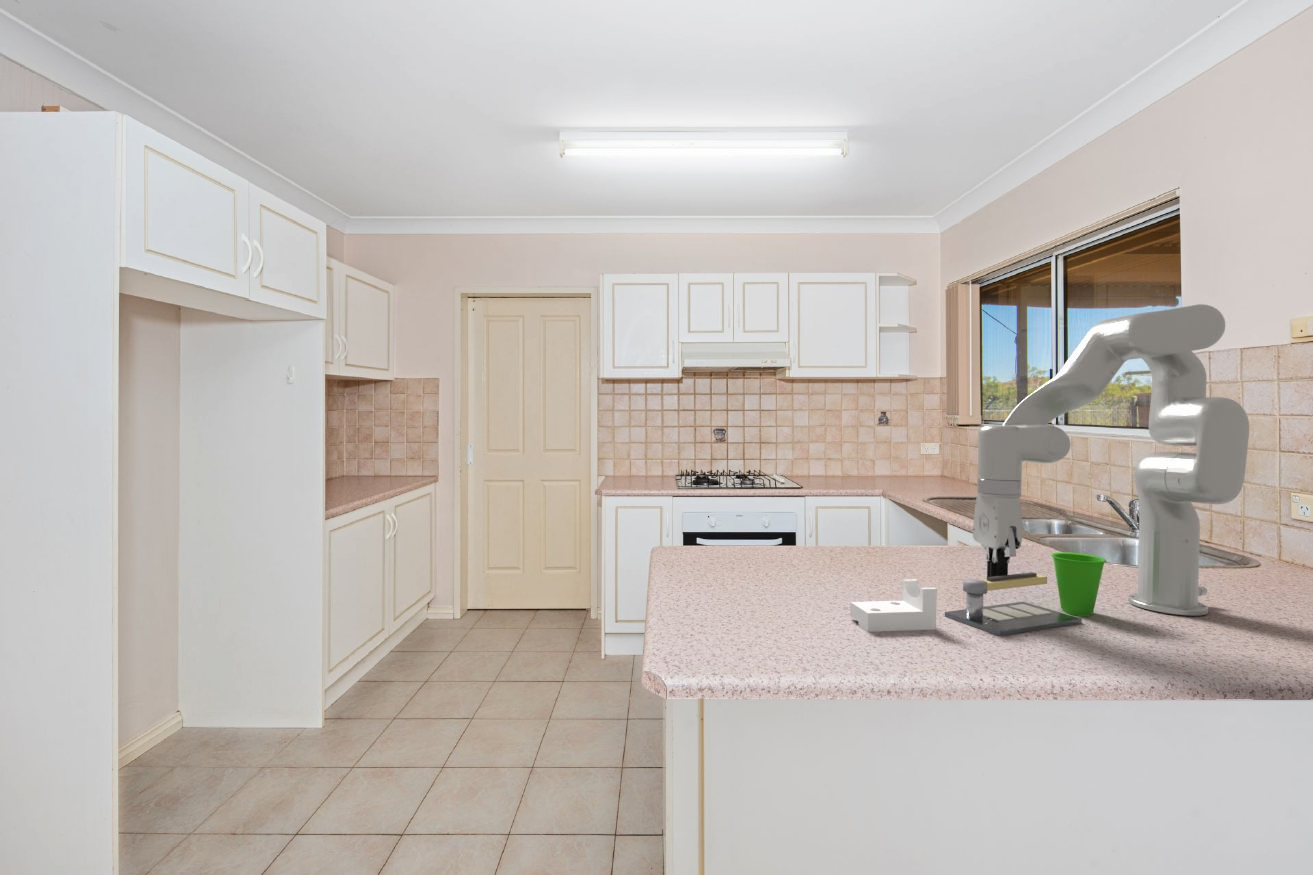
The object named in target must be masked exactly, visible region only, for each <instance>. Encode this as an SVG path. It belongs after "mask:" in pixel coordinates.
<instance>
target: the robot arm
mask: <svg viewBox="0 0 1313 875" xmlns="http://www.w3.org/2000/svg"><path fill="white" fill-rule="evenodd" d="M1225 330H1226V320H1225V318H1224V315H1223V314H1222V312H1221V311H1220V310H1219V309H1218V308H1215V307H1214V306H1212V305H1208V304H1202V303H1200V304H1193V305H1186V306H1181V307H1176V308H1171V309H1170V308H1169V309H1163V310H1155V311H1147V312H1140V313H1135V314H1134V313H1133V314H1128V315H1123V316H1118V317H1114V318H1109V319H1105V320H1102V321H1099V322H1098V323H1096V324H1094V325H1093V326H1092V327H1090V329H1089V330H1088V331H1087V333H1086V334H1085V335H1084V337H1083V338H1082V339H1081V341H1080V342H1079V343H1078V345H1077V346H1076V347H1075V349H1074V350H1073V352H1072V353H1071V355H1070V356H1069V357H1068V359H1067V360H1066V361H1065V363H1063V366H1062V367H1061V368H1060V370H1058V372H1057V373H1056V375H1054V376H1053V377H1052V378H1051V379H1050V380H1048V381H1046V382H1045V383H1044V384H1043V385H1041V386H1040V387H1038V388H1037V389H1036V390H1035V391H1032V393H1031V394H1029V395H1028V396H1026V397H1025V398H1024V399H1023V400H1022V401H1020V402H1019V403H1018V404H1017V405H1016V406H1015V407H1014V408H1013V410H1012V411H1011V412H1010V414H1009V415H1008V416H1007V417H1006V419H1005V420H1004V422H1003V423H1002V424H1001V425H1000V424H999V425H998V424H997V425H996V424H994V425H992V424H991V425H989V424H988V425H984V426H982V427H981V428H980V429H979V431H978V441H977V442H978V445H977V446H978V452H977V454H978V455H977V456H978V457H977V458H978V459H977V460H978V461H977V493H976V494H977V495H976V498H975V499H976V500H975V504H974V513H973V514H974V515H973V523H972V524H973V527H972V538H973V540H974V542H976V543H978V544H980V546H981V547H982V548H983V549H985V559H986V560H987V562H986V564H987V565H986V568H987V569H986V578H987V577H994V576H1003V575H1009V564H1010V562H1011V558H1013V557H1016V556H1017V550H1018V549H1020V548H1021V546H1022V543H1023V517H1022V516H1023V515H1022V505H1021V498H1022V479H1023V478H1022V476H1023V475H1022V474H1023V472H1022V471H1023V462H1025V463H1034V464H1053V463H1056V462H1059V461H1061V460H1063V459H1064V458H1065V457H1066V456H1067V455H1068V454H1069V452H1070V450H1071V440H1070V437H1069V435H1068V434H1067V433H1066V432H1065V431H1064V430H1063V429H1062V428H1060V427H1057V426H1055V425H1051V424H1049V423H1050V422H1052V421H1054V420H1055V419H1056V418H1058V417H1060V416H1062V415H1064V414H1066V413H1069V412H1071V411H1073V410H1074V411H1075V410H1076V409H1079V408H1082V407H1084V406H1086V405H1089V404H1090V403H1092V402H1094V401H1096V400H1097V399H1099V398H1100V397H1101V396H1102V394H1103V393H1104V391H1105V390H1106V388H1107V387H1108V385H1109V384H1110V383H1111V381H1112V380H1113V378H1114V377H1116V374H1117V373H1118V372H1119V370H1120V369H1121V368H1122V366H1123V365H1124V364H1125V363H1126V362H1127V361H1130V360H1138V359H1142V360H1143V362H1144V363H1145V364H1146V365H1147V367H1148V369H1149V371H1150V374H1151V393H1150V394H1151V396H1150V406H1149V413H1148V415H1149V416H1148V433H1149V435H1150V437H1151V438H1152V439H1153V440H1154V441H1155V442H1157V443H1159V444H1162V445H1168V446H1180V447H1182V446H1183V447H1196V453H1192V452H1182V451H1181V452H1178V451H1177V452H1176V451H1159V452H1153V453H1150V454H1148V455H1145V456H1144V457H1142V458H1140V460H1139V461H1138V462H1137V464H1136V466H1135V468H1134V474H1133V475H1134V485H1135V489H1136V493H1137V498H1138V508H1139V510H1138V511H1139V520H1138V522H1139V528H1138V560H1137V561H1138V563H1137V565H1138V566H1137V567H1138V568H1137V593H1132V594H1131V593H1130V594H1129V595H1128V597H1127V598H1128V599H1127V601H1128V603H1130V604H1131V605H1132V606H1135V607H1138V608H1141V609H1144V610H1149V611H1153V612H1157V613H1162V614H1170V615H1177V616H1178V615H1179V616H1190V617H1191V616H1193V617H1195V616H1204V615H1207V614H1208V613H1209V607H1208V606H1207V605H1206V604H1204V603H1202V602H1199V597H1201V596H1206V595H1207V594H1208V590H1207V588H1206V587H1205V586H1203V585H1199V576H1200V575H1199V574H1200V570H1199V569H1200V539H1201V538H1200V535H1201V523H1200V518H1199V515H1198V513H1197V511H1196V508H1195V507H1194V505H1193V503H1195V504H1196V503H1198V504H1207V505H1224V504H1228V503H1230V502H1232V501H1234V500H1235V499H1236V498H1237V497H1238V496H1239V494H1240V493H1241V491H1242V488H1243V486H1244V482H1245V476H1246V468H1247V467H1246V465H1247V457H1248V456H1247V455H1248V448H1249V438H1250V419H1249V417H1248V414H1247V412H1246V410H1245V409H1244V407H1243V406H1242V405H1241V404H1240V403H1238V402H1237V401H1236V400H1233V399H1232V398H1229V397H1219V396H1216V397H1215V396H1213V397H1207V372H1206V367H1205V366H1204V363H1203V362H1202V360H1201V359H1200V358H1199V357H1198V356H1197V355H1196V354H1195V353H1194V352H1193V351H1199V350H1205V349H1208V348H1210V347H1212V346H1213V345H1216V344H1217V342H1219V340H1221V338H1223V335H1224V334H1225Z"/></svg>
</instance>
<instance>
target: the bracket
mask: <svg viewBox="0 0 1313 875" xmlns="http://www.w3.org/2000/svg"><path fill="white" fill-rule="evenodd" d="M901 588H902V589H901V590H902V593H901V595H902V596H901V597H902V598H901V600H880V601H879V600H876V601H875V600H874V601H850V602H849V604H850V606H849V616H850V617H851V618H852V619H854V620H855V621H857V622H858V626H859V627H860V628H862V629H863V630H864V631H866V632H869V633H870V632H871V633H872V632H897V631H898V632H901V631H927V630H930V631H931V630H937V604H938V603H937V598H938V597H937V596H938V595H937V594H938V588H935V587H920V586H919V580H918V579H915V578H912V579H909V578H907V579H902V587H901Z"/></svg>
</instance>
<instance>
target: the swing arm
mask: <svg viewBox="0 0 1313 875" xmlns="http://www.w3.org/2000/svg"><path fill="white" fill-rule="evenodd" d="M1047 584H1048V576H1047V575H1043V574H1039V573H1037V572H1031V571H1030V572H1024V573H1023V572H1022V573H1021V572H1020V573H1013V574H1008V575H1003V576H994V577H987V576H986V578H985V579H977V578H965V579H962V590H963V592H965V593H967V592H968V593H973V594H983V595H986V594H988V592H990V591H996V590H997V591H998V590H1005V589H1006V590H1007V589H1014V588H1022V587H1024V588H1025V587H1030V586H1031V587H1032V586H1039V585H1047Z"/></svg>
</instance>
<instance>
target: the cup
mask: <svg viewBox="0 0 1313 875" xmlns="http://www.w3.org/2000/svg"><path fill="white" fill-rule="evenodd" d="M1050 556H1051V557H1052V558H1053V566H1054V571H1055V577H1056V585H1057V591H1058V596H1059V603H1060V608H1061V610H1062V613H1064V614H1067V615H1071V616H1079V617H1080V616H1081V617H1089V616H1092V615H1093V613H1094V610H1095V606H1096V602H1097V596H1098V592H1099V587H1100V582H1101V579H1102V575H1103V569H1104V564H1105V563H1107V559H1106V558H1104V557H1101V556H1098V555H1094V554H1087V553H1081V552H1079V553H1078V552H1065V551H1063V552H1062V551H1061V552H1060V551H1059V552H1058V551H1057V552H1053V553H1051V554H1050Z"/></svg>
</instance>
